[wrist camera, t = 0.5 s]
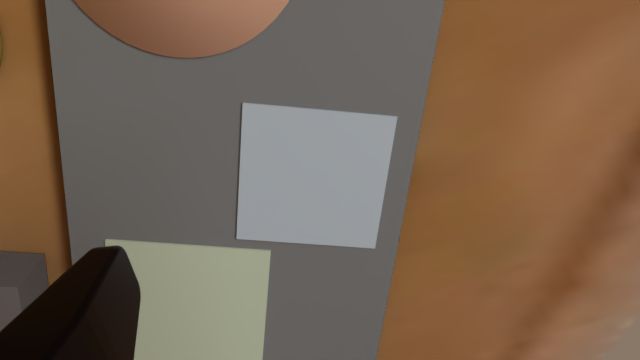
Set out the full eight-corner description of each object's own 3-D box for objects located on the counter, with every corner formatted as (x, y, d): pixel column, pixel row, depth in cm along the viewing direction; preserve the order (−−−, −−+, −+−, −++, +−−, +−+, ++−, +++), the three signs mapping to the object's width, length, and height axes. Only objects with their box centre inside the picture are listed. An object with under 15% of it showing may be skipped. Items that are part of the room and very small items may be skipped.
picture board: (361, 415, 29) (363, 430, 28) (93, 404, 27) (87, 418, 27) (479, -216, 17) (488, -223, 16) (27, -279, 16) (13, -291, 15)
